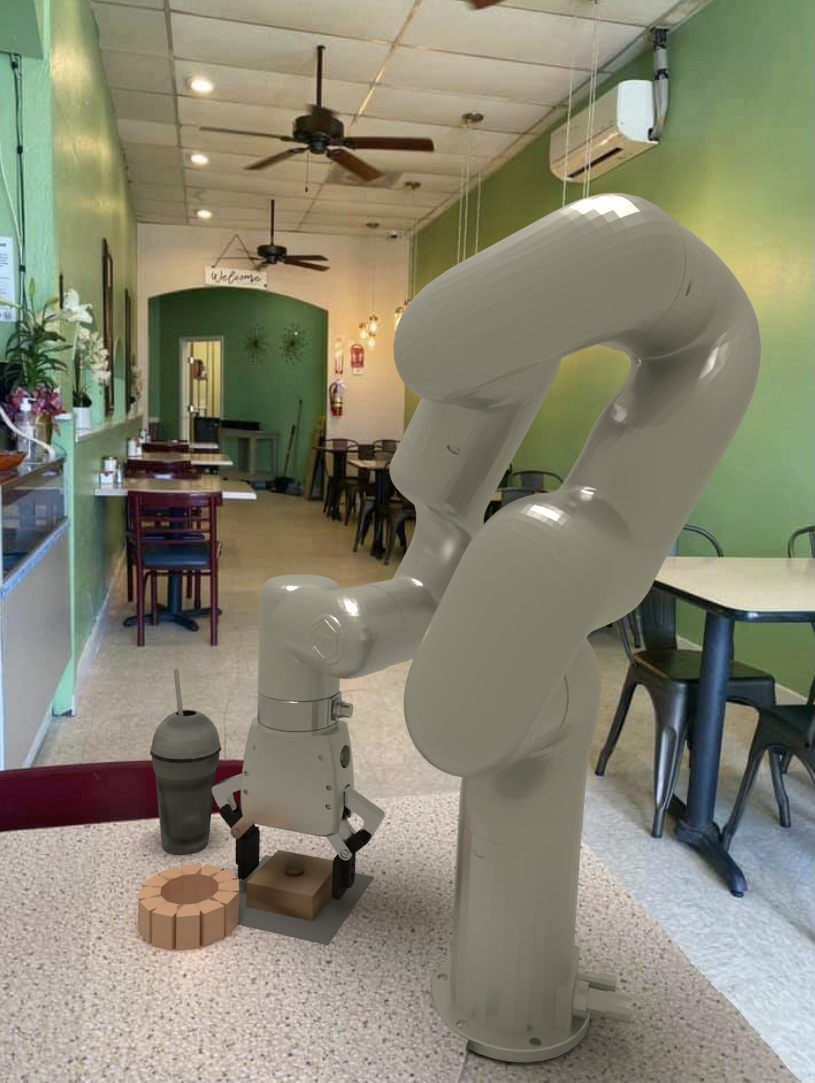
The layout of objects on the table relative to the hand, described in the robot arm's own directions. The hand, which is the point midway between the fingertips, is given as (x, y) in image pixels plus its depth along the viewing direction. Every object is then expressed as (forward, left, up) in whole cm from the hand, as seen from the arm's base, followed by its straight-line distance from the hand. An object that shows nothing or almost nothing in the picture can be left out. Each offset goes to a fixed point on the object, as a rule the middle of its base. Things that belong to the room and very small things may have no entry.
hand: (294, 882), depth 78 cm
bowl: (+7, +7, -2) cm, 10 cm away
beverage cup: (+15, -5, -2) cm, 16 cm away
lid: (0, 0, -1) cm, 1 cm away
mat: (0, 0, -2) cm, 2 cm away
